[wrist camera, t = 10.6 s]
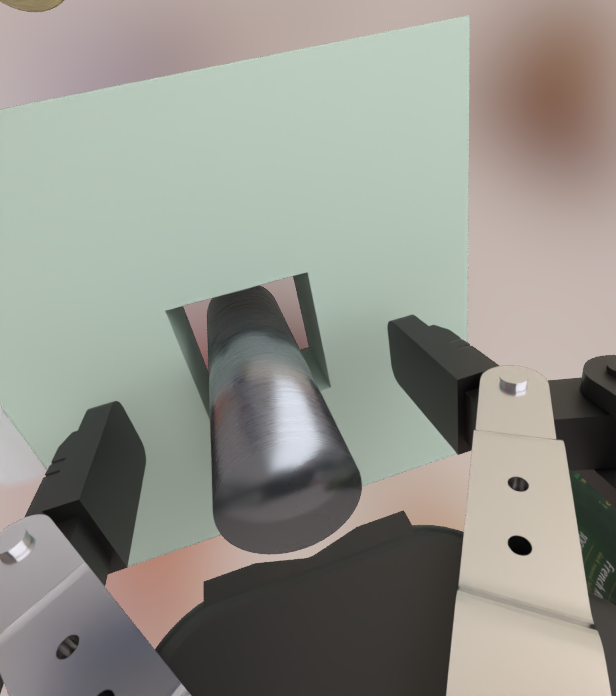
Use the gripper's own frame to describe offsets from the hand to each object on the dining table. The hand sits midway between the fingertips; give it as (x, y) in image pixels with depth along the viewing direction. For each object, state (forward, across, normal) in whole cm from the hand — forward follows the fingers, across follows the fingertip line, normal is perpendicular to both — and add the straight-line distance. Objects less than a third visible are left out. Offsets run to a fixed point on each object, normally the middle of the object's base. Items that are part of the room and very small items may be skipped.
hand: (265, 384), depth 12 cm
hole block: (+6, 0, 0) cm, 6 cm away
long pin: (+6, 0, 0) cm, 6 cm away
